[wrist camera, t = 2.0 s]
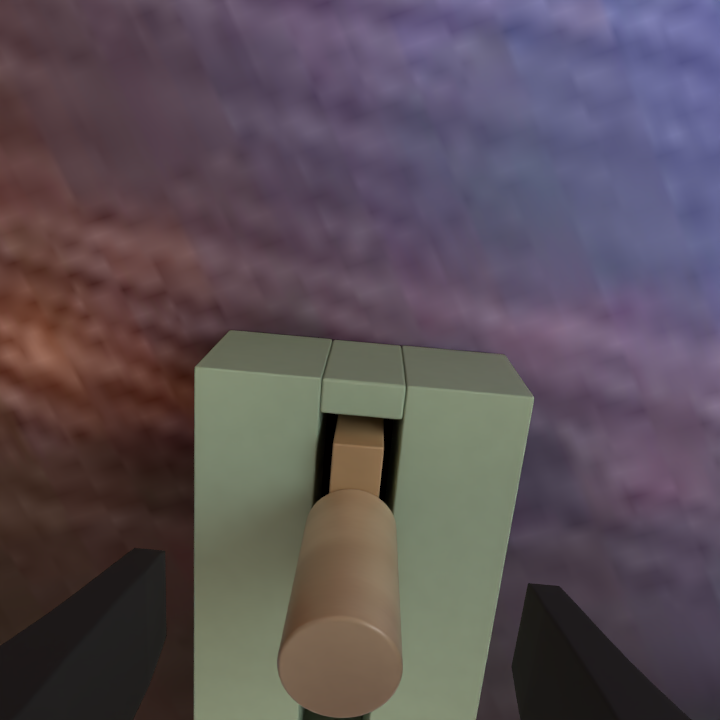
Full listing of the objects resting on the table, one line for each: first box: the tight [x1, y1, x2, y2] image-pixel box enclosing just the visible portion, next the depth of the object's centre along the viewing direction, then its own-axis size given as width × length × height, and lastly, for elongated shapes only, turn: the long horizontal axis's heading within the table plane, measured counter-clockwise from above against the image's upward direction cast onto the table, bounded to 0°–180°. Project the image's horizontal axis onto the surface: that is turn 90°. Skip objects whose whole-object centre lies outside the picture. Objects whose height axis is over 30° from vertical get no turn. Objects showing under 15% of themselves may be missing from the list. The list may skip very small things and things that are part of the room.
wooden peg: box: [277, 414, 403, 718], centre depth 14 cm, size 2×4×8 cm, turn 175°
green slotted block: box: [194, 330, 534, 720], centre depth 18 cm, size 8×14×4 cm, turn 175°
